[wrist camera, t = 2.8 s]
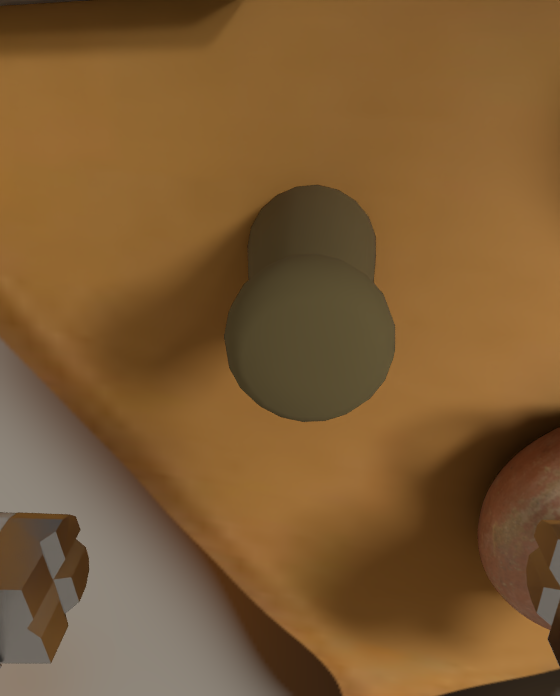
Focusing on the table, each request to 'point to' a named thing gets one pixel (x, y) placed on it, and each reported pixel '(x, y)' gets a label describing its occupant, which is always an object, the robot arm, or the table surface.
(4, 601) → the robot arm
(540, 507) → the ceramic jug
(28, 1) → the tray
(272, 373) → the olive tapered rounded piece
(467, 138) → the table surface
